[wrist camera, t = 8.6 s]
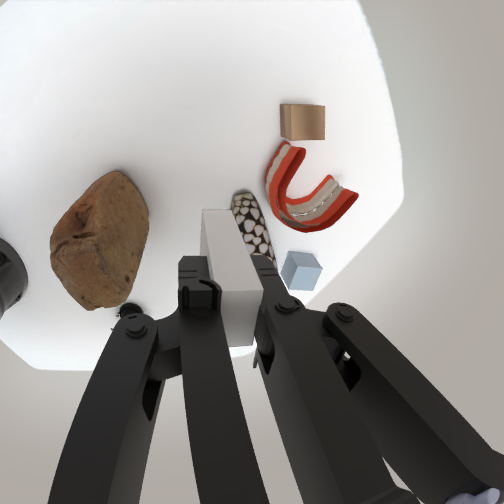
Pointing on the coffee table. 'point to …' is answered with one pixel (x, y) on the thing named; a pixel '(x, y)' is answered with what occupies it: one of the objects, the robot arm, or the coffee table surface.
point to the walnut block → (302, 122)
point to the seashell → (252, 226)
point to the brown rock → (101, 242)
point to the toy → (281, 205)
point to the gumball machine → (128, 310)
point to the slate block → (301, 271)
